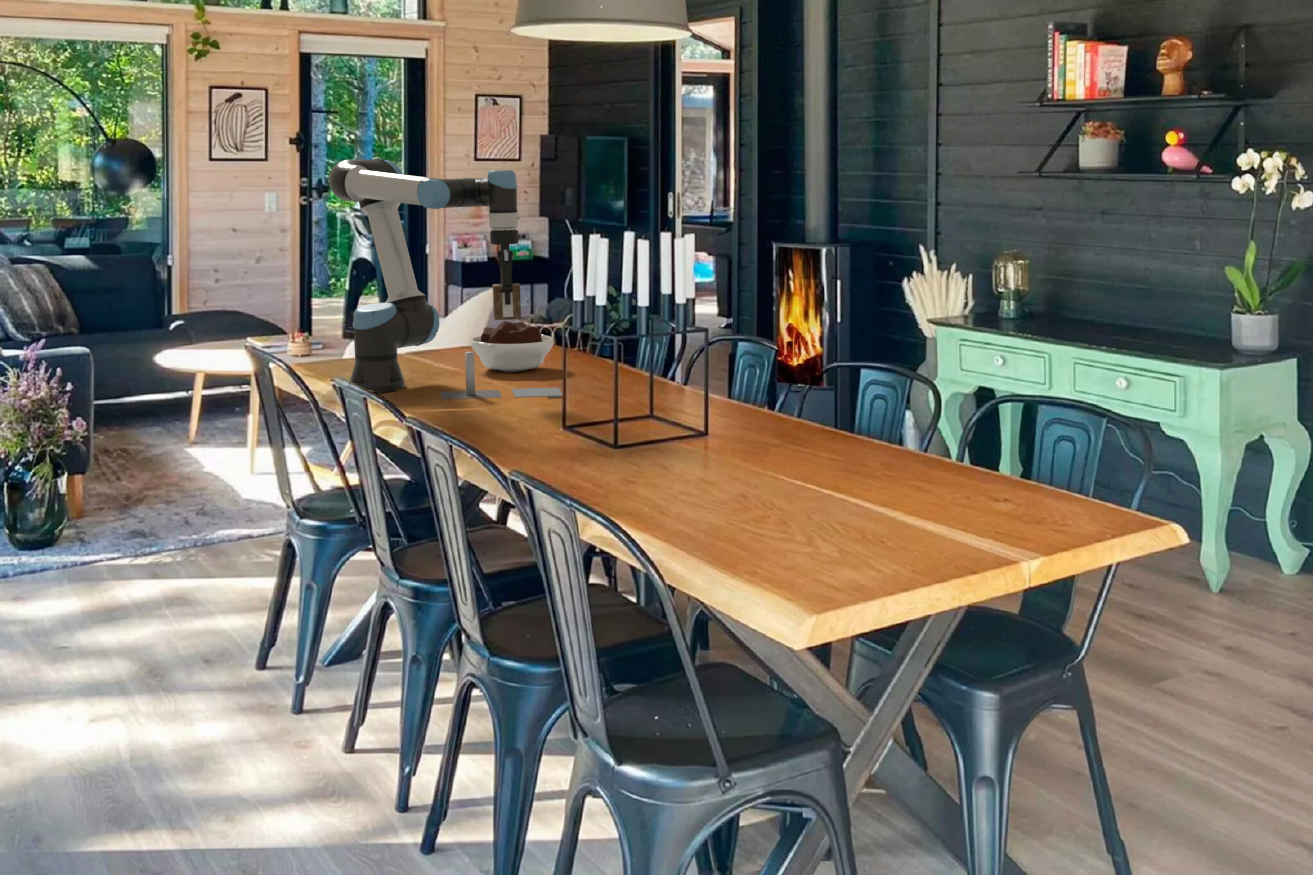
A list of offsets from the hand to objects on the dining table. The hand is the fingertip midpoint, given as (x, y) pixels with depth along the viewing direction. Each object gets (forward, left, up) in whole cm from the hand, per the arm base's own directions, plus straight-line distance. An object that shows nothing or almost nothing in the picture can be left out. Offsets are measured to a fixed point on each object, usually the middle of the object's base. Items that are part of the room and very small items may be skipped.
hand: (507, 315), depth 379 cm
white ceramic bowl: (+5, +46, -22) cm, 51 cm away
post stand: (-10, +1, -22) cm, 24 cm away
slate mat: (+8, +1, -22) cm, 23 cm away
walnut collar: (0, 0, -1) cm, 1 cm away
